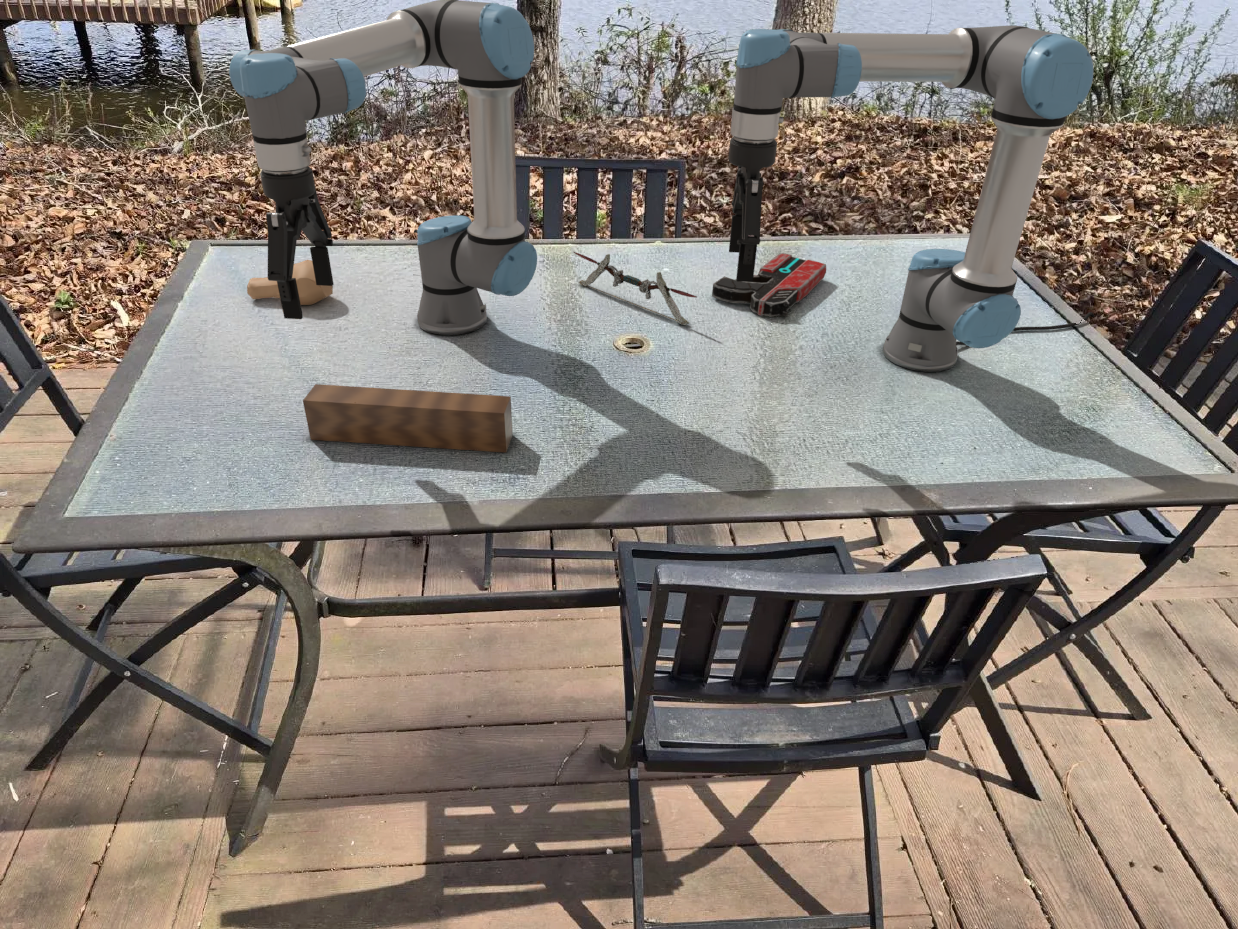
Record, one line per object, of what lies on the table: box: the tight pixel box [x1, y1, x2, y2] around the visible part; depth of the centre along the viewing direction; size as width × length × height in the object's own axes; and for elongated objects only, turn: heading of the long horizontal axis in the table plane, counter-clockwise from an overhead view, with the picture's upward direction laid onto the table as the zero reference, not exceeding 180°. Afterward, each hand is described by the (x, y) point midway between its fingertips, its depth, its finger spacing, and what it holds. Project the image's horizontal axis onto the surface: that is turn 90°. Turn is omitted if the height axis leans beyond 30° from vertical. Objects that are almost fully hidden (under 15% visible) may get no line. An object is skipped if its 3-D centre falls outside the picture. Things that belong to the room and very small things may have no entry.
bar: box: [302, 383, 514, 454], centre depth 154 cm, size 35×6×8 cm, turn 85°
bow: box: [573, 251, 698, 326], centre depth 205 cm, size 39×2×10 cm, turn 47°
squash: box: [246, 259, 334, 306], centre depth 203 cm, size 11×20×9 cm, turn 90°
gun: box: [711, 252, 827, 318], centre depth 215 cm, size 4×31×19 cm
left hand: (310, 300), depth 143 cm, fingers open, 13 cm apart
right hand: (740, 265), depth 151 cm, fingers open, 13 cm apart
